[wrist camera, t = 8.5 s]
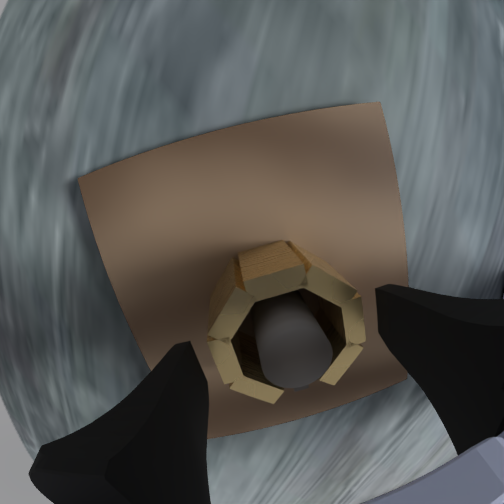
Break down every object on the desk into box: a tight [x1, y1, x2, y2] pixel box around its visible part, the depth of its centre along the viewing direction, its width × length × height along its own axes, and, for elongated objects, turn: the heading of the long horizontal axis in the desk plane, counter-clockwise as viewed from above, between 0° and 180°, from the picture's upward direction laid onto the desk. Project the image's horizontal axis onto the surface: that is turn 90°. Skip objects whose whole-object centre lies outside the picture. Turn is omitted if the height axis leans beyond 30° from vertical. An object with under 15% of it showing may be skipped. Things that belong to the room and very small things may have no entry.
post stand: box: [78, 102, 409, 439], centre depth 12 cm, size 16×14×6 cm
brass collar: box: [207, 240, 366, 404], centre depth 12 cm, size 6×6×4 cm
